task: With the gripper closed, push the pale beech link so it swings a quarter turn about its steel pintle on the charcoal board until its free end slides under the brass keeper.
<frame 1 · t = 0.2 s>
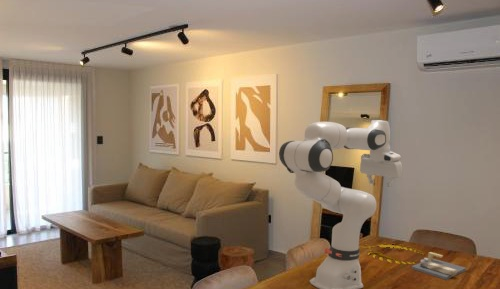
hand: (380, 185, 176), 39 cm above the table, tool pointing down, fingers open, 8 cm apart
pintle board: (438, 269, 180), on the table
link: (437, 267, 175), point 3 cm above the table, hinge at -90.0°
decorative wreath: (390, 253, 204), on the table
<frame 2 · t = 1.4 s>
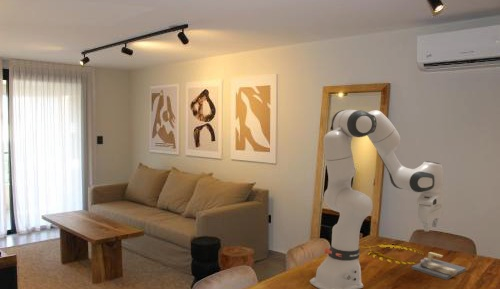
hand: (430, 228, 172), 21 cm above the table, tool pointing down, fingers open, 8 cm apart
nothing on the table moved.
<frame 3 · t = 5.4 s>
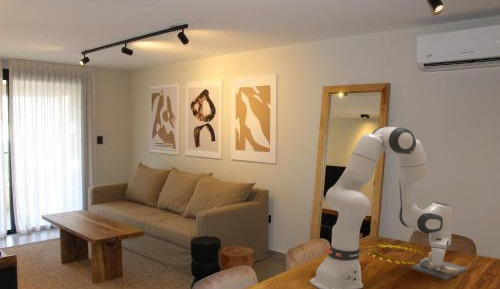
hand: (438, 269, 173), 3 cm above the table, tool pointing down, fingers closed
link: (438, 266, 176), point 3 cm above the table, hinge at -83.2°, touching gripper
everything else where it was.
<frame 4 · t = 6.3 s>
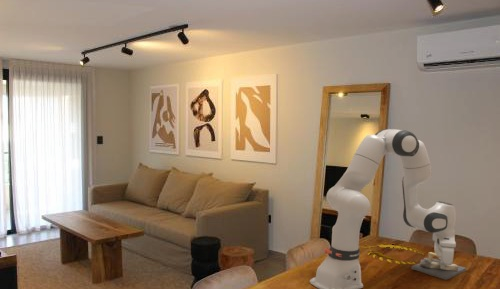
hand: (441, 268, 175), 2 cm above the table, tool pointing down, fingers closed
link: (438, 265, 178), point 3 cm above the table, hinge at -54.0°, touching gripper
everything else where it was.
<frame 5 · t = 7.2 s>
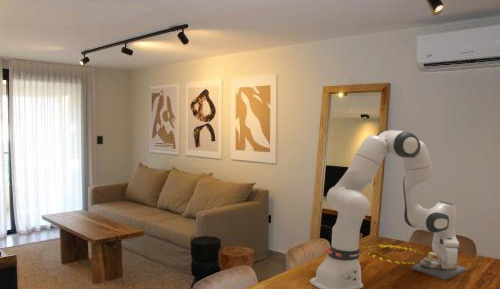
hand: (442, 267, 176), 2 cm above the table, tool pointing down, fingers closed
link: (438, 264, 179), point 3 cm above the table, hinge at -44.5°, touching gripper
everything else where it was.
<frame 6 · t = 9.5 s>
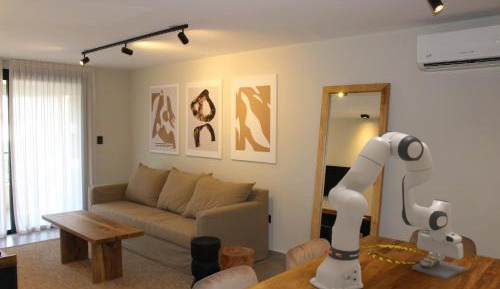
hand: (438, 263, 181), 2 cm above the table, tool pointing down, fingers closed
link: (430, 261, 183), point 3 cm above the table, hinge at 3.7°, touching gripper
everything else where it was.
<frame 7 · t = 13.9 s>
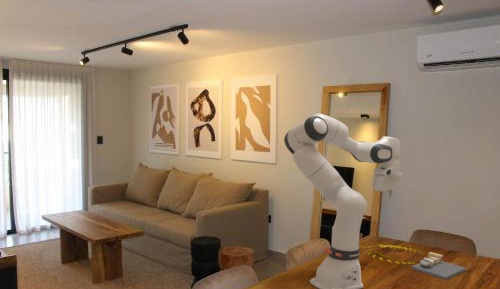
hand: (388, 199, 185), 31 cm above the table, tool pointing down, fingers closed
link: (430, 261, 183), point 3 cm above the table, hinge at 3.7°
everything else where it was.
at the end: link at +4° (first picture: -90°) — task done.
